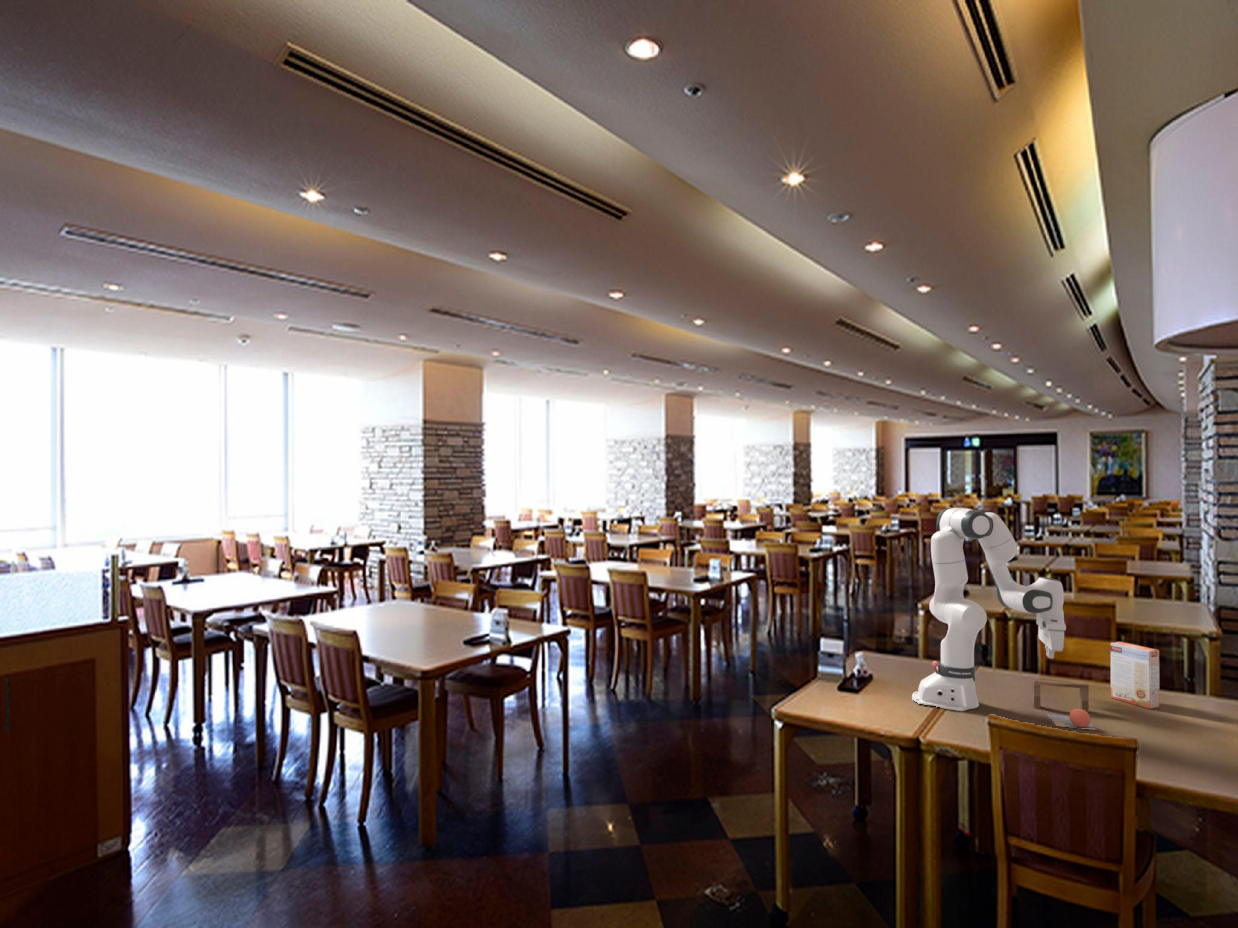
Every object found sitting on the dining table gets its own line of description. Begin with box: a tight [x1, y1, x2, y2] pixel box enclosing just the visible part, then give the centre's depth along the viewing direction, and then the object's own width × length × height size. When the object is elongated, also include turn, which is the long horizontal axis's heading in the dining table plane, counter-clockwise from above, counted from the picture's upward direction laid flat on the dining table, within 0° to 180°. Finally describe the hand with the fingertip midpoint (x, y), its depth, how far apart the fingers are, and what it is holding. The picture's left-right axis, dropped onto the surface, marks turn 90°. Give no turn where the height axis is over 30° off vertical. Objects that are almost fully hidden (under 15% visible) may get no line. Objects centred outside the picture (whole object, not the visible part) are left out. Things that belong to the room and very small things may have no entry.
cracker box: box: [1110, 641, 1160, 710], centre depth 262 cm, size 14×6×21 cm, turn 22°
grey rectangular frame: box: [1031, 678, 1090, 714], centre depth 256 cm, size 3×17×10 cm, turn 72°
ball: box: [1068, 708, 1091, 728], centre depth 238 cm, size 6×6×6 cm
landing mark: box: [1046, 713, 1098, 731], centre depth 242 cm, size 12×12×1 cm
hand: (1050, 657), depth 268 cm, fingers closed
